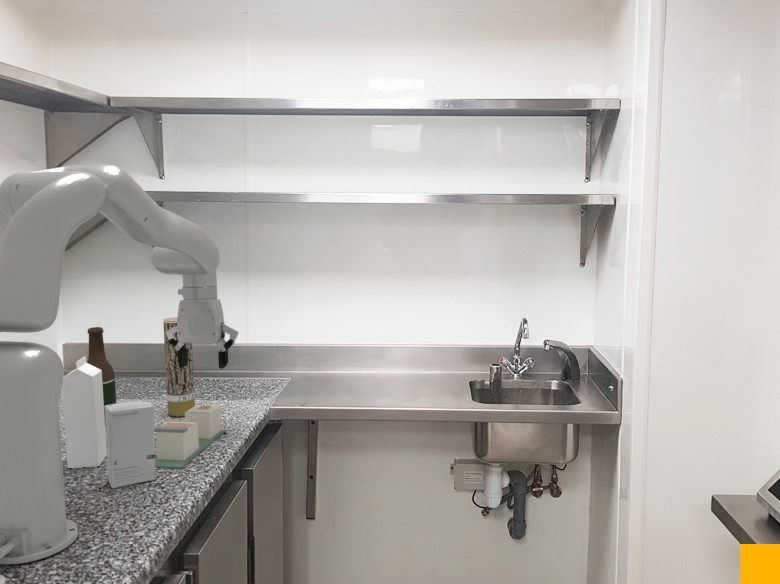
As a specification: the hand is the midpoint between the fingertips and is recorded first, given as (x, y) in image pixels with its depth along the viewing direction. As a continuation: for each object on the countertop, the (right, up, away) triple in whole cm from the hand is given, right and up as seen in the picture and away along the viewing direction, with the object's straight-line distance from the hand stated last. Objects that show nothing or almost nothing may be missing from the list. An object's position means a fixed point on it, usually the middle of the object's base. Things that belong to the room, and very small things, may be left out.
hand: (203, 366), depth 145 cm
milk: (-19, -18, -16) cm, 31 cm away
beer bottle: (-29, -15, +11) cm, 34 cm away
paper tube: (-11, -15, +17) cm, 25 cm away
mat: (-1, -17, -7) cm, 19 cm away
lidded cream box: (-2, -17, -12) cm, 21 cm away
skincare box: (-6, -19, -24) cm, 32 cm away
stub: (0, -16, +1) cm, 16 cm away
